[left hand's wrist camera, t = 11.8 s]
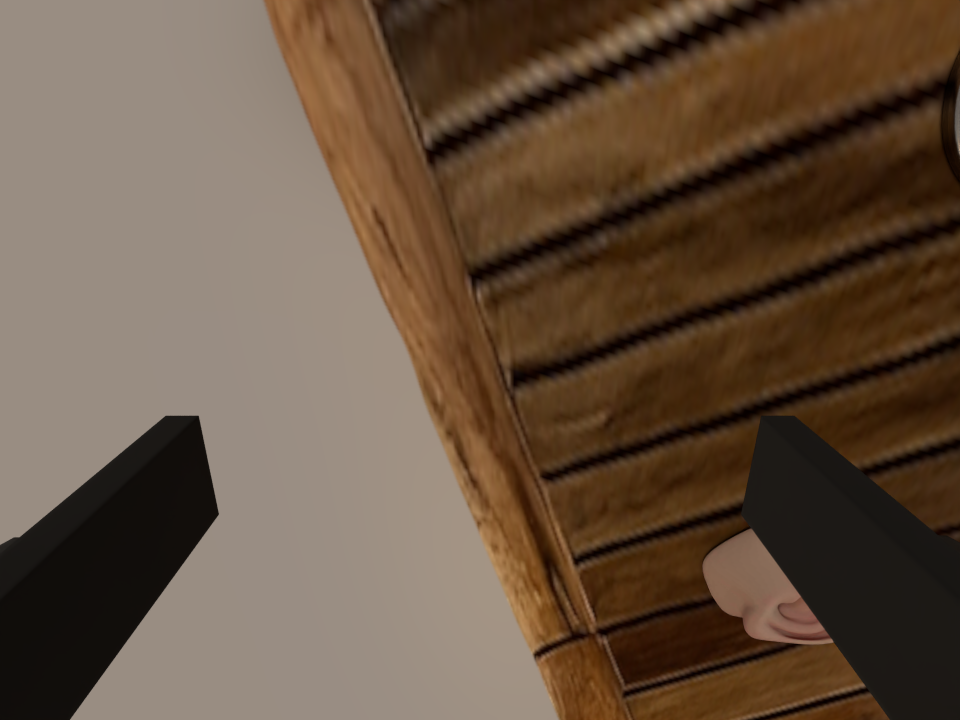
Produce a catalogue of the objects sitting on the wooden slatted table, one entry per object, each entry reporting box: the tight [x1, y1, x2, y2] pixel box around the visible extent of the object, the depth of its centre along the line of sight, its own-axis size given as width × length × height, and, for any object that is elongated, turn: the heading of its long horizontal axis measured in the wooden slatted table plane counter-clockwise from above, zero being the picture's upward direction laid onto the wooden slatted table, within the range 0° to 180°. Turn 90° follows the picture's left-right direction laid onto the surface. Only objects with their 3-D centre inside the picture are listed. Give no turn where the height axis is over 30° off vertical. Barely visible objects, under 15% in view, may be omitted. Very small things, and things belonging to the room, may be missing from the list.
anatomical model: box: [703, 528, 833, 644], centre depth 45 cm, size 13×4×12 cm
